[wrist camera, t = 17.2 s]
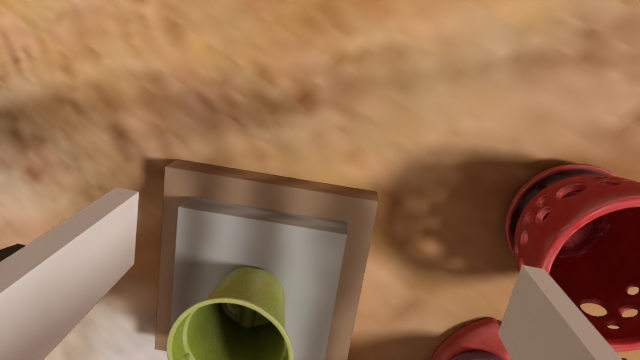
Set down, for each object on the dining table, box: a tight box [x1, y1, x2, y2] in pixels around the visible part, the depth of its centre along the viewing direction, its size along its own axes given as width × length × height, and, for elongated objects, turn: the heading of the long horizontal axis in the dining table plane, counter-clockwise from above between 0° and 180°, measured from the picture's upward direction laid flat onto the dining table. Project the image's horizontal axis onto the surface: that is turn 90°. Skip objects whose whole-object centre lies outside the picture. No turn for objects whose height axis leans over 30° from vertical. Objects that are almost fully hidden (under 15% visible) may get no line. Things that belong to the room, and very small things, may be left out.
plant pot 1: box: [167, 267, 293, 360], centre depth 38 cm, size 9×9×9 cm
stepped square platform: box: [155, 159, 379, 360], centre depth 45 cm, size 20×20×6 cm
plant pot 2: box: [505, 164, 640, 352], centre depth 39 cm, size 13×13×12 cm
